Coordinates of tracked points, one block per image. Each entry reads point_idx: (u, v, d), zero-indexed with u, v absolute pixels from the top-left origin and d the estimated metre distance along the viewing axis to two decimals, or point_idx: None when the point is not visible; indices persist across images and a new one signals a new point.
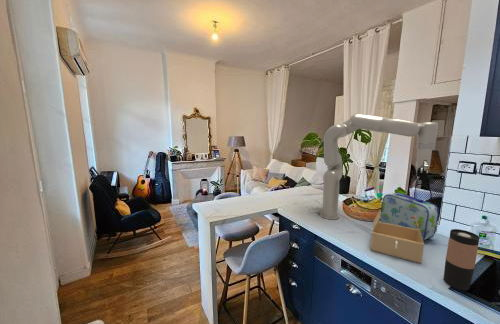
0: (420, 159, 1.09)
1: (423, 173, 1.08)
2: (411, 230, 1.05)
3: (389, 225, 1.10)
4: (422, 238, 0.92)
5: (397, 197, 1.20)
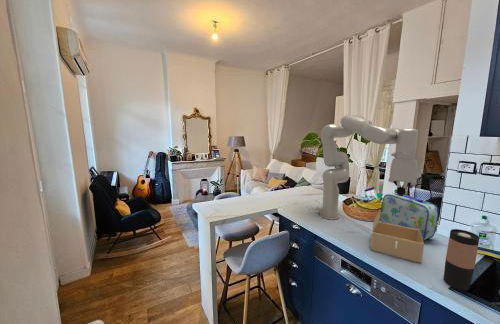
0: (417, 172, 0.93)
1: None
2: (411, 230, 1.05)
3: (389, 225, 1.10)
4: (422, 238, 0.92)
5: (397, 197, 1.20)
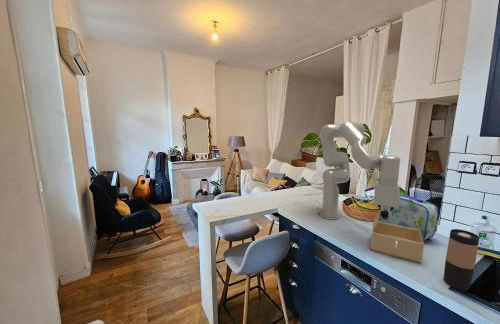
0: (399, 197, 0.98)
1: None
2: (411, 230, 1.05)
3: (389, 225, 1.10)
4: (422, 238, 0.92)
5: None
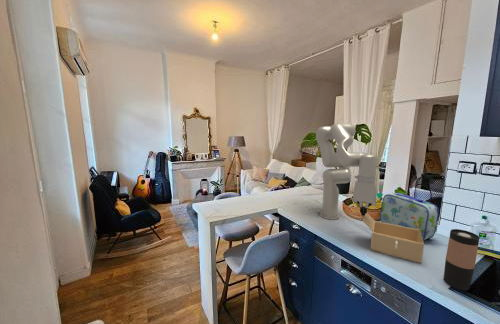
0: (376, 194, 1.03)
1: None
2: (411, 230, 1.05)
3: (389, 225, 1.10)
4: (422, 238, 0.92)
5: (397, 197, 1.20)
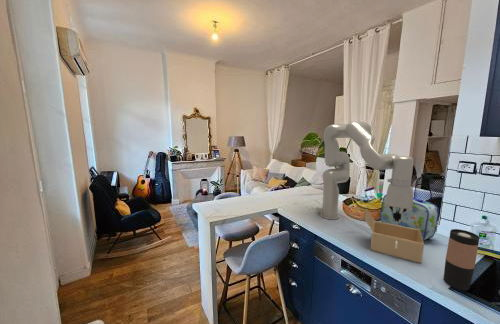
0: (412, 199, 0.96)
1: None
2: (411, 230, 1.05)
3: (389, 225, 1.10)
4: (422, 238, 0.92)
5: None
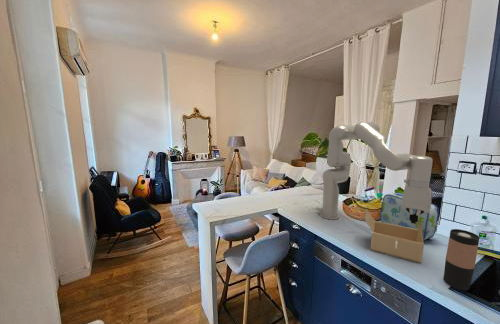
0: None
1: None
2: (411, 230, 1.05)
3: (389, 225, 1.10)
4: (422, 238, 0.92)
5: (397, 197, 1.20)
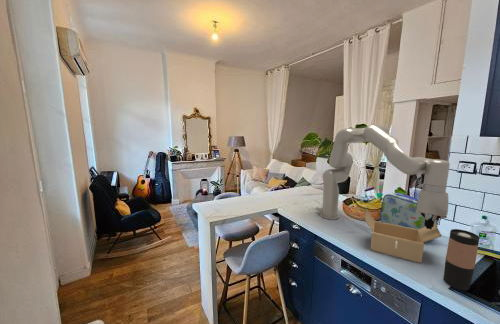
0: None
1: None
2: (411, 230, 1.05)
3: (389, 225, 1.10)
4: None
5: (397, 197, 1.20)
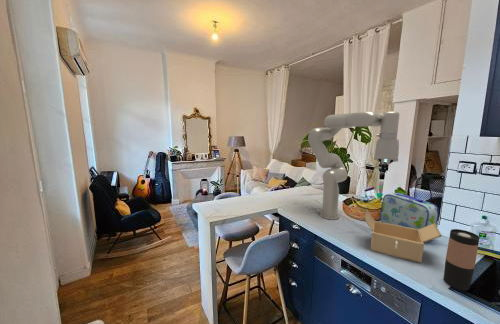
0: (398, 149, 1.06)
1: None
2: (411, 230, 1.05)
3: (389, 225, 1.10)
4: None
5: (397, 197, 1.20)
